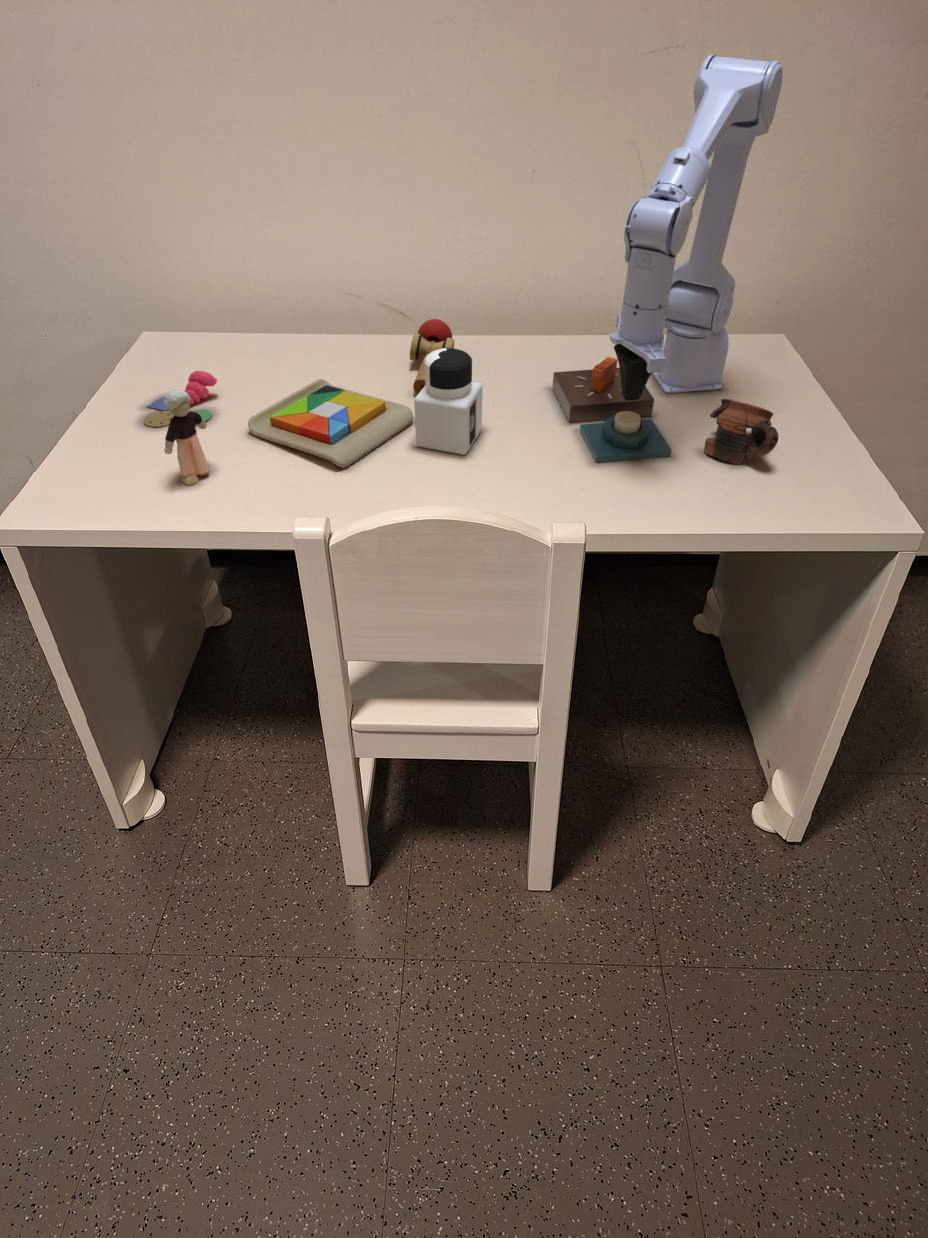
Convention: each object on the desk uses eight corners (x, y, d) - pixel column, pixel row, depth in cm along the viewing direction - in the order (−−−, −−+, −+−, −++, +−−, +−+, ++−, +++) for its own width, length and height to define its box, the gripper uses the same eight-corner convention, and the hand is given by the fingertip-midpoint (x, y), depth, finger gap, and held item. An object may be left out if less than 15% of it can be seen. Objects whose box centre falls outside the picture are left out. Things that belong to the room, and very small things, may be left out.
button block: (650, 425, 123) (653, 407, 121) (670, 457, 116) (674, 438, 114) (579, 431, 121) (581, 413, 119) (595, 463, 115) (598, 445, 113)
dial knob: (605, 377, 127) (608, 354, 125) (614, 380, 127) (617, 357, 124) (590, 389, 125) (593, 366, 122) (599, 392, 124) (602, 369, 121)
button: (634, 420, 118) (636, 409, 117) (642, 433, 116) (644, 422, 115) (610, 422, 118) (612, 411, 117) (617, 435, 115) (619, 424, 114)
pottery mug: (683, 448, 119) (703, 392, 116) (725, 460, 124) (745, 407, 122) (746, 467, 109) (770, 406, 107) (789, 480, 115) (812, 422, 112)
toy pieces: (166, 388, 131) (159, 362, 128) (230, 394, 130) (225, 368, 127) (129, 425, 123) (121, 398, 120) (198, 432, 121) (191, 405, 118)
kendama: (452, 403, 130) (462, 340, 141) (443, 369, 125) (455, 307, 137) (405, 408, 132) (419, 345, 143) (395, 375, 127) (411, 313, 138)
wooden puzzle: (325, 387, 132) (322, 366, 129) (417, 421, 124) (416, 400, 121) (245, 432, 121) (241, 411, 119) (340, 473, 113) (337, 451, 111)
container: (482, 430, 122) (483, 346, 113) (465, 456, 116) (465, 371, 108) (434, 421, 124) (431, 339, 115) (415, 446, 118) (411, 362, 109)
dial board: (629, 383, 132) (632, 365, 130) (651, 416, 125) (654, 398, 122) (552, 389, 131) (553, 370, 129) (568, 423, 123) (570, 404, 121)
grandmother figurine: (196, 491, 110) (172, 406, 101) (170, 486, 111) (145, 401, 102) (223, 461, 115) (203, 378, 107) (199, 457, 116) (177, 374, 108)
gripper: (600, 281, 109) (589, 376, 118) (632, 326, 99) (618, 426, 108) (650, 278, 110) (636, 372, 119) (688, 322, 100) (669, 421, 109)
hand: (630, 397), depth 114 cm, fingers closed
